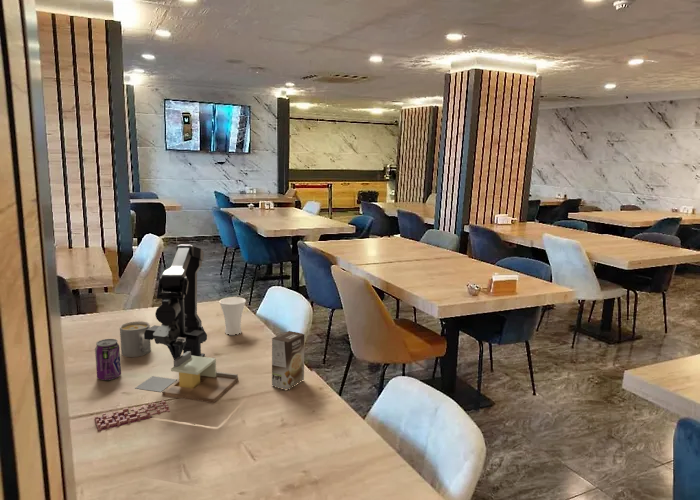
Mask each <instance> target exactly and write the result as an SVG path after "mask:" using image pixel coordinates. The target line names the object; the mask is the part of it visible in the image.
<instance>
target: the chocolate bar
mask: <svg viewBox="0 0 700 500" xmlns="http://www.w3.org/2000/svg"><path fill="white" fill-rule="evenodd" d="M143 409H144V410H143ZM129 411H131V412H129ZM132 411H134V412H132ZM151 411H153V412H151ZM165 412H167V413H170V412H171V410H170V406H169V405H168V403H167V402H166V400H164V399H163V400H161V401H159V403H158V404H157V403H156V401H154V402H152V403H150V402H149V403H147V406H146V404H142V405H141V406H140V407H138V409H137V408H136V406H132V408H130V409H129V407H124V408H122V410H120V411H118V412H117V411H113V412H112V414H111V413H108V414H106V412H104V413H102V415H101V416H98V415H95V416H94V421H95V424H97V425H96V427H97V431H98V432H100V431H105V430H108V429H112V428H117V427H121V426H124V425H129V424H131V423H137V422H141V421H144V420H149V419H152V418H154V415H161V413H165ZM142 413H145V414H142ZM152 415H153V416H152Z"/></svg>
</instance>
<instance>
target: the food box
mask: <svg viewBox="0 0 700 500" xmlns="http://www.w3.org/2000/svg"><path fill="white" fill-rule="evenodd" d="M302 380H304V381H305V334H304V333H301V332H298V331H291V330H289V331H286V332H283V333H282V334H279V335H276V336H274V337H272V338H271V386H272V385H273V386H276V387H279V388H283V389H289V388H291V387H292V386H294V385H296V384H297V383H299V382H300V381H302ZM299 384H300V383H299ZM273 386H272V387H273ZM296 386H297V385H296ZM276 387H275V388H276ZM294 387H295V386H294ZM279 388H278V389H279ZM291 389H292V388H291ZM289 390H290V389H289Z"/></svg>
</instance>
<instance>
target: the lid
mask: <svg viewBox="0 0 700 500" xmlns="http://www.w3.org/2000/svg"><path fill="white" fill-rule="evenodd" d="M170 371H171V372H175V373H179V372H181V373H188V374H196V375H198V374H200V375H201V376H208V377H216V372H217V358H216V357H208V356H203V357H200V356H192V355H191V351H187V352H186V353H184V354H181V356H180V357H178V358H177V359H175V360H174V359H173V367H171V368H170Z"/></svg>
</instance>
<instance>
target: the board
mask: <svg viewBox="0 0 700 500" xmlns="http://www.w3.org/2000/svg"><path fill="white" fill-rule="evenodd" d="M238 381H239V376H238V373H237V374H236V373H229V372H222V371H216V377H208V376H201V375H200V384H199V385H198V386H196V387H195V388H194V389H192V388H185V387H180V385H179V379H177V381H175V382H174V383H173V384H171V385H170V386H169V387H167V388H166V389H165V390H163V391H162V392H161V395H162V396H166V397H172V398H173V397H174V398H178V399H184V400H186V399H187V400H193V401H201V402H207V403H215V402H216V401H218V399H220V398H221V397H222V395H224V394H225V393H226V392H227V391H228V390H229V389H231V387H232V386H234V385H235V384H236V383H237V382H238Z"/></svg>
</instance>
